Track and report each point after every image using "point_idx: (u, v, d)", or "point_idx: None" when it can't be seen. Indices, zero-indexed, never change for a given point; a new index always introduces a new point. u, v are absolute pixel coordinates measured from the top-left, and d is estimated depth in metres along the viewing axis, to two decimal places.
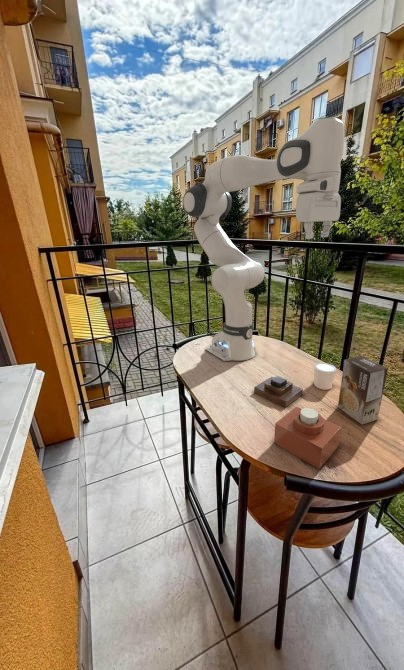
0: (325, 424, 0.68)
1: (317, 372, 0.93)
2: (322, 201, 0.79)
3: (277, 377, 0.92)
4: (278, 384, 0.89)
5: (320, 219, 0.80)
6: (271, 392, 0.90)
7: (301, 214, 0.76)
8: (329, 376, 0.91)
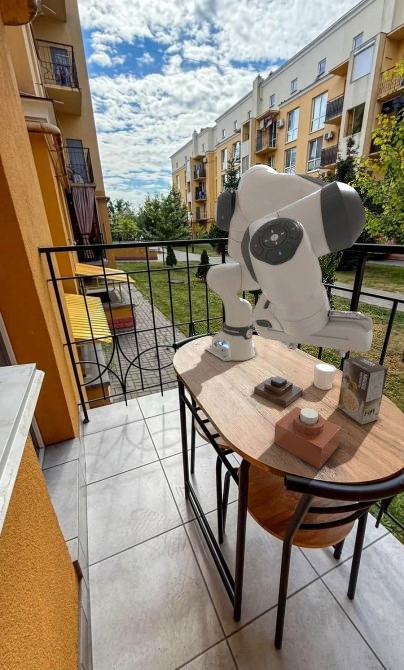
0: (325, 424, 0.68)
1: (317, 372, 0.93)
2: None
3: (277, 377, 0.92)
4: (278, 384, 0.89)
5: (294, 342, 0.54)
6: (271, 392, 0.90)
7: None
8: (329, 376, 0.91)
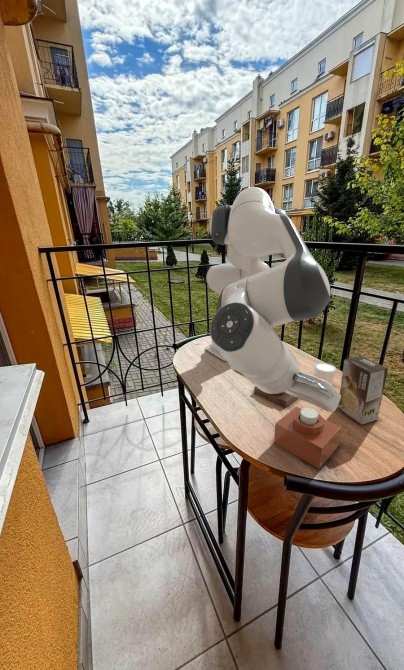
0: (325, 424, 0.68)
1: (317, 372, 0.93)
2: None
3: None
4: None
5: None
6: None
7: None
8: (329, 376, 0.91)
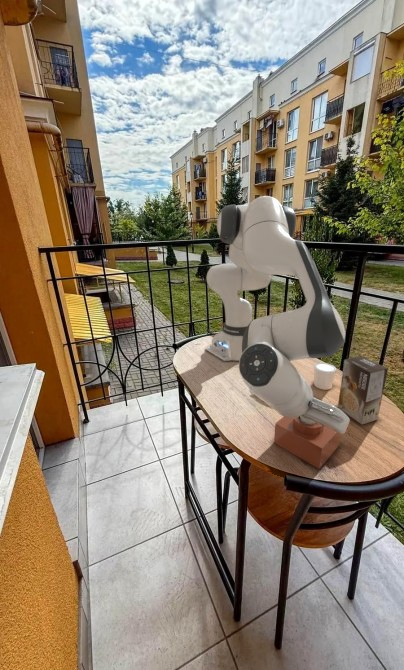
0: None
1: (317, 372, 0.93)
2: None
3: None
4: None
5: None
6: None
7: None
8: (329, 376, 0.91)
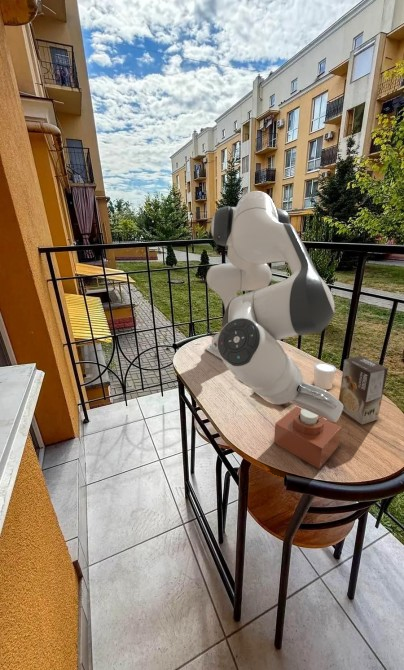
0: (325, 424, 0.68)
1: (317, 372, 0.93)
2: None
3: None
4: None
5: None
6: None
7: None
8: (329, 376, 0.91)
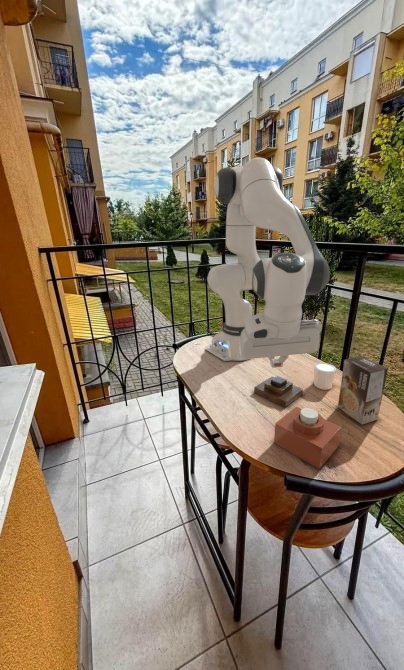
0: (325, 424, 0.68)
1: (317, 372, 0.93)
2: (273, 340, 0.69)
3: (277, 377, 0.92)
4: (278, 384, 0.89)
5: (269, 356, 0.71)
6: (271, 392, 0.90)
7: (239, 350, 0.72)
8: (329, 376, 0.91)
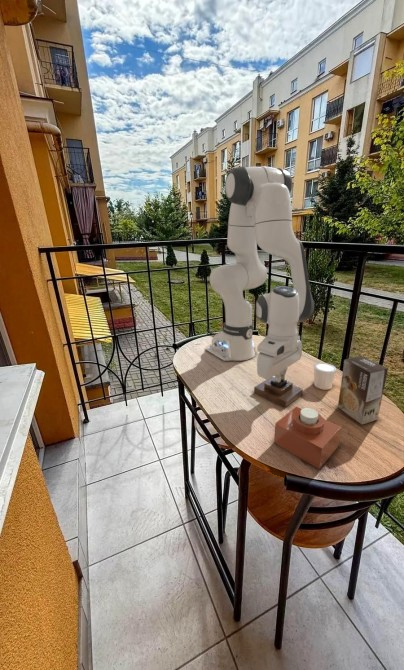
0: (325, 424, 0.68)
1: (317, 372, 0.93)
2: (282, 356, 0.85)
3: None
4: (278, 385, 0.89)
5: (280, 370, 0.86)
6: (271, 392, 0.90)
7: (261, 373, 0.82)
8: (329, 376, 0.91)
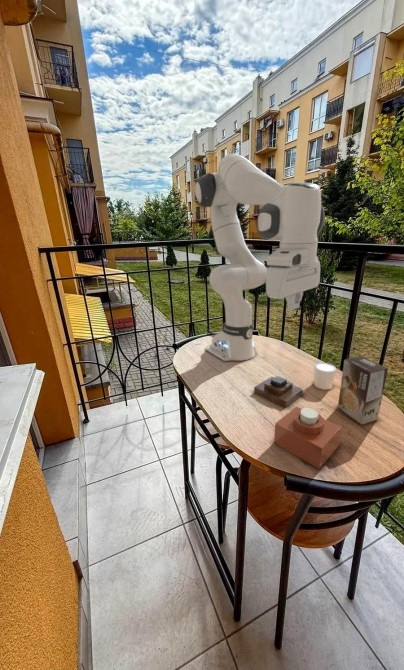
0: (325, 424, 0.68)
1: (317, 372, 0.93)
2: (297, 273, 0.68)
3: (277, 377, 0.92)
4: (278, 384, 0.89)
5: (295, 292, 0.70)
6: (271, 392, 0.90)
7: (272, 291, 0.66)
8: (329, 376, 0.91)
